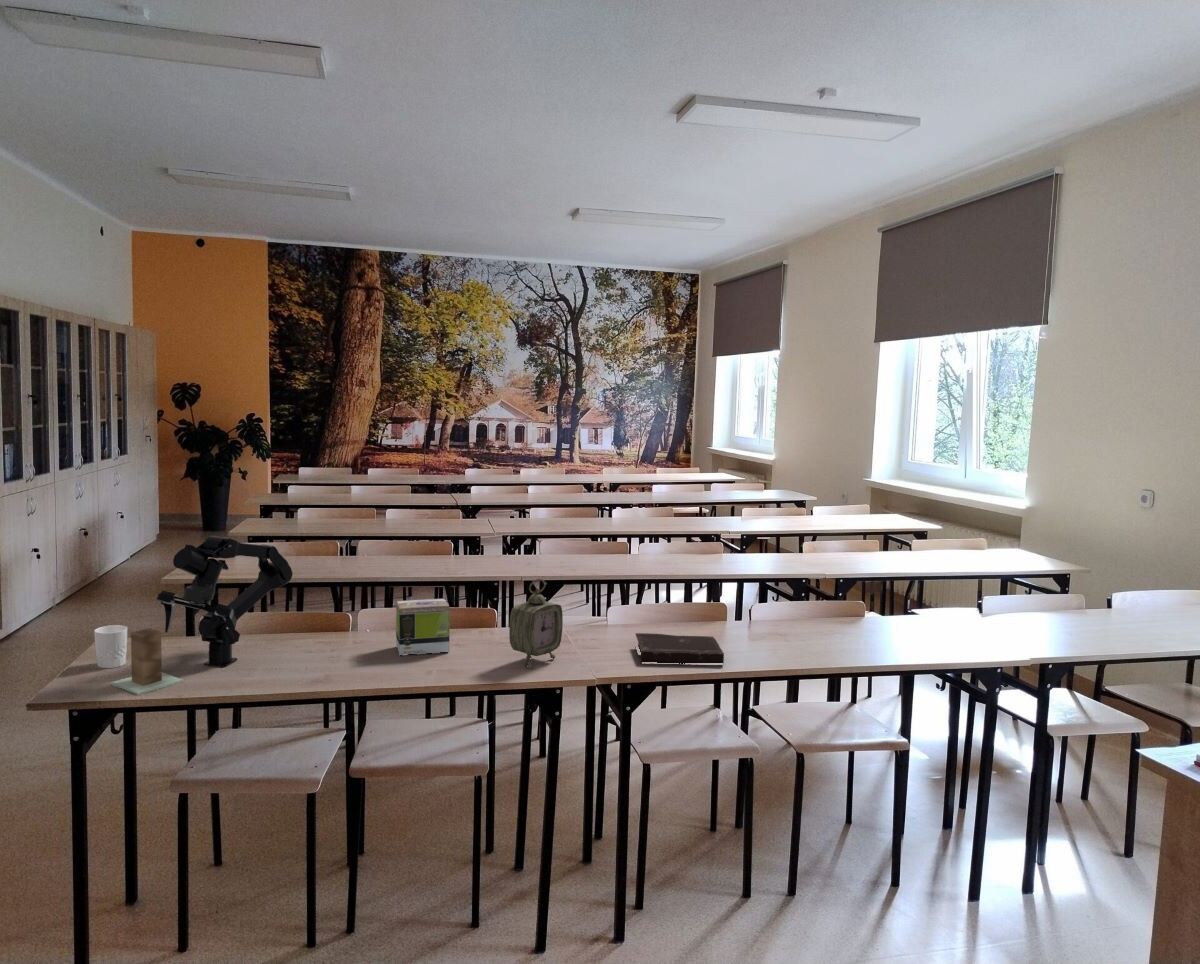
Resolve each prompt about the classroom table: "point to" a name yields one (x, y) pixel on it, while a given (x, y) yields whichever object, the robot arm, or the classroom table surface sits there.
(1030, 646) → the classroom table surface
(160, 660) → the walnut block
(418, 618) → the tea box
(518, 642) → the tabletop clock
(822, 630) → the classroom table surface
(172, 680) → the green mat
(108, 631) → the white cup
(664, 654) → the diary
